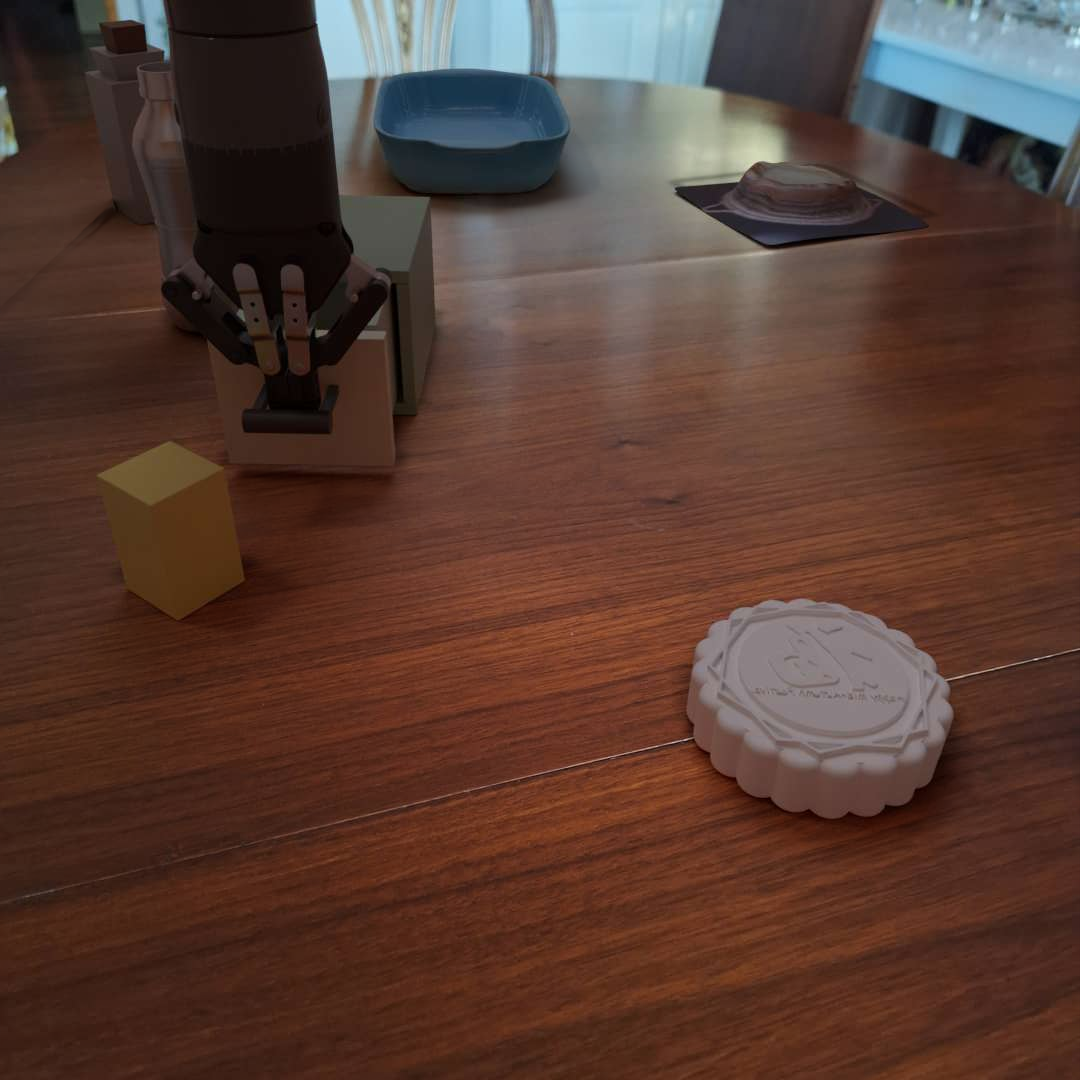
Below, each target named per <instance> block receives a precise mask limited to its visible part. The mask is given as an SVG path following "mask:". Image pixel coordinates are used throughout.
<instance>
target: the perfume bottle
mask: <svg viewBox="0 0 1080 1080" xmlns="http://www.w3.org/2000/svg"><path fill="white" fill-rule="evenodd" d="M98 25H99V29H100V33H101V36H102V39H103V42H104V46H103V45H102V46H101V45H100V46H92V47H88V50H89V51H90V53H91V56H92V57H93V59H94V62H95V64H96V66H97V69H98V70H90V71H85V72H84V74H85V79H86V83H87V87H88V92H89V97H90V101H91V106H92V110H93V111H92V112H93V115H94V120H95V123H96V124H95V125H96V129H97V133H98V138H99V143H100V147H101V152H102V156H103V161H104V165H105V169H106V175H107V179H108V184H109V188H110V191H111V197H112V199H113V200H114V201H113V206H114V209H115V210H117V211H118V212H120V214H122V215H124V216H126V217H127V218H128V219H130V220H132V221H133V222H134V223H136V224H137V225H139V226H145V225H148V224H155V217H154V216H153V213H152V209H151V205H150V201H149V197H148V194H147V191H146V188H145V185H144V183H143V180H142V177H141V174H140V171H139V168H138V165H137V161H136V159H135V156H134V152H133V149H132V138H133V131H134V128H135V125H136V123H137V120H138V118H139V116H140V114H141V112H142V110H143V108H144V106H145V98H144V97H141V96H140V93H139V87H140V85H139V80H138V75H137V67H138V66H140V65H144V64H149V63H157V62H165V50H164V49H162V48H160V47H157V46H154V45H151V44H149V43H147V34H146V33H147V32H146V24H144V23H141V22H138V21H136V20H133V19H124V20H113V21H104V22H98Z"/></svg>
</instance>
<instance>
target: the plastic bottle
mask: <svg viewBox="0 0 1080 1080" xmlns="http://www.w3.org/2000/svg"><path fill="white" fill-rule="evenodd" d="M137 75H138V80H139V85H140V87H139V93H140V96H141V97H144V98H145V106H144V108H143V110H142V112H141V114H140V116H139V118H138V120H137V123H136V125H135V128H134V131H133V138H132V149H133V152H134V156H135V159H136V161H137V165H138V168H139V171H140V174H141V177H142V180H143V183H144V185H145V188H146V191H147V194H148V197H149V201H150V205H151V209H152V213H153V216H154V217H155V222H154V224H155V229H156V233H157V240H158V251H159V258H160V267H161V281H160V282H161V283H160V284H161V286H162V285H163V283H164V282H165V280H166V278H167V277H168V276H169V274H170V273H171V272H172V271H173V270H174V269H175V268H176V267H177V266H179V265H184V264H186V263H187V262H188V261H189V260H190V259H191V258H193V257H194V255H193V243H194V241H195V238H196V235H197V230H198V225H197V220H196V216H195V211H194V205H193V200H192V194H191V188H190V183H189V177H188V171H187V166H186V160H185V155H184V149H183V144H182V138H181V132H180V127H179V125H178V123H177V121H176V117H175V112H174V100H175V98H174V93H173V87H172V80H171V69H170V61H164V62H157V63H149V64H144V65H140V66H138V67H137ZM212 281H213V280H212ZM213 282H214V281H213ZM214 286H215V288H214V292H215V293H216V294H217V295H218V296H219V297H220V298H221V299H222V300H223V301H224V302H225V303H226V304H227V305H228V306H229V307H230V308H231V309H232V310H233V311H234V312H235V313H236V314H237V308H236V305H235V304H234V303H233V302H232V301H231V300H230V299H229V298H228V296H227V295H226V294H225V293H224V292H223V291H222V290H221V289H220V288H219V287H218V286H217V284H216V283H215V282H214ZM161 300H162V303H163V306H164V308H165V311H166V313H167V316H168V318H169V319H170V320H171V321H172V322H173V323H174V324H175V325H176V326H177V327H178V328H179V329H181V330H184V331H187V332H194V333H200V332H199V331H198V330H197V329H196V328H195V327H194V326H193V325H192V324H191V323H190V322H189V321H188V320H187V319H186V318H185V317H184V316H183V315H182V314H181V313H180V312H179V311H178V310H177V309H176V308H175V307H174V306H173V305H172V304H171V303H170V302H169V301H168V300H167V299H165V297H164V296H163V295H162V294H161Z"/></svg>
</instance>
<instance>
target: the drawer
mask: <svg viewBox="0 0 1080 1080" xmlns="http://www.w3.org/2000/svg"><path fill="white" fill-rule="evenodd" d="M347 285H348V282H338V283H337V284H336V286H335V287H334V289H333V290H332V292H331V293H330V295H329V296H328V298H327V300H326V301H325V303H324V304H323V305H322V307H321V308H320V309H319V310H317V321H316V331H317V337H320V336H323V335H326V334H327V332H328V331H329V330H330V328H331V327H332V326H333V324H334V323H335V322H336V320H337V319H338V318H339V316H340V315H341V314H342V312H343V311H344V310H345V308H346V307H347V306H348V304H349V303H350V301H349V300H348V299H347V298H346V295H345V290H346V287H347ZM237 315H238V316H239V317H240V318H241V319H242V320H243V321H244V322H245V323H246V321H245V317H244V313H243V310H241V309H239V311H238V312H237ZM283 325H284V316H283ZM284 329H285V326H284ZM286 339H287V338H286ZM206 341H207V346H208V347H207V348H208V352H209V358H210V363H211V368H212V375H213V380H214V384H215V390H216V396H217V402H218V408H219V412H220V413H219V414H220V419H221V424H222V429H223V435H224V441H225V446H226V451H227V456H228V462H229V464H238V465H239V464H240V465H243V464H245V465H247V464H248V465H291V466H292V465H297V466H298V465H299V466H301V465H302V466H343V467H344V466H345V467H346V466H351V467H352V466H353V467H394V464H395V461H396V445H395V431H394V430H395V429H394V417H393V416H394V415H392V413H393V409H394V405H395V401H396V397H397V393H398V389H399V385H400V381H401V377H402V368H401V353H400V337H399V322H398V306H397V291H396V283H391V287H390V290H389V293H388V297H387V299H386V301H385V302H384V304H383V305H382V306H381V308H380V309H379V310H378V311H377V313H376V314H375V315H374V317H373V318H372V319H371V321H370V322H369V323H368V325H367V326H366V327H365V328H364V330H363V331H362V332H361V334H360V335H359V336H358V338H357V339H356V340H355V342H354V343H353V344H352V346H351V347H350V348H349V349H348V351H347V352H346V353H345V355H344V356H343V357H342V359H341V360H340V361H339V362H338V364H336V365H334V366H328V365H324V366H321V367H319V368H318V376H319V385H320V394H321V405H320V408H319V410H285V409H269V403H268V397H267V391H266V384H265V378H264V374H263V372H262V371H261V370H260V369H259V368H258V367H256V366H254V365H251V364H248V363H244V364H242V365H235V364H233V363H231V362H230V361H229V360H228V359H227V358H226V357H225V356H224V355H223V354H222V353H221V352H220V351H219V350H218V349H216V348H215V347H214V346H213V345H212V344H211V343H210V342H209V341H208V340H207V339H206Z"/></svg>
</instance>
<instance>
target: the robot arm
mask: <svg viewBox="0 0 1080 1080" xmlns="http://www.w3.org/2000/svg"><path fill="white" fill-rule="evenodd" d="M162 3H163V8H164V14H165V20H166V25H167V35H168V44H169V45H168V46H169V62H170V69H171V80H172V87H173V93H174V98H175V100H174V112H175V117H176V121H177V123H178V125H179V127H180V132H181V138H182V144H183V149H184V155H185V160H186V166H187V171H188V177H189V183H190V188H191V194H192V200H193V205H194V211H195V216H196V220H197V225H198V230H197V235H196V238H195V241H194V243H193V255H194V257H193V258H191V259H190V260H189V261H188V262H187V263H186V264H184V265H179V266H177V267H176V268H175V269H174V270H173V271H172V272H171V273H170V274H169V276H168V277H167V278H166V280H165V282H164V283H163V285H162V286H161V287H160V292H161V296H162V295H163V296H164V297H165V299H167V300H168V301H169V302H170V303H171V304H172V305H173V306H174V307H175V308H176V309H177V310H178V311H179V312H180V313H181V314H182V315H183V316H184V317H185V318H186V319H187V320H188V321H189V322H190V323H191V324H192V325H193V326H194V327H195V328H196V329H197V330H198V331H199V332H198V333H200V334H201V335H202V336H203V337H204V338H205V339H206V341H207V340H208V341H209V342H210V343H211V344H212V345H213V346H214V347H215V348H216V349H218V350H219V351H220V352H221V353H222V354H223V355H224V356H225V357H226V358H227V359H228V360H229V361H230V362H231V363H233V364H235V365H242V364H244V363H248V364H251V365H254V366H256V367H258V368H259V369H260V370H261V371H262V372H263V374H264V378H265V384H266V391H267V397H268V403H269V409H285V410H319V408H320V405H321V394H320V385H319V376H318V368H319V367H321V366H324V365H328V366H334V365H336V364H338V362H339V361H340V360H341V359H342V357H343V356H344V355H345V353H346V352H347V351H348V349H349V348H350V347H351V346H352V344H353V343H354V342H355V340H356V339H357V338H358V336H359V335H360V334H361V332H362V331H363V330H364V328H365V327H366V326H367V325H368V323H369V322H370V321H371V319H372V318H373V317H374V315H375V314H376V313H377V311H378V310H379V309H380V308H381V306H382V305H383V304H384V302H385V301H386V299H387V297H388V293H389V290H390V287H391V283H392V280H393V278H392V274H391V272H390V271H389V270H388V269H386V268H382V267H380V268H376V269H373V268H372V267H371V266H369V265H368V264H367V263H365V262H364V261H362V260H361V259H360V258H358V257H357V256H356V255H354V254H353V253H354V246H353V242H352V240H351V238H350V236H349V235H348V233H347V232H346V230H345V228H344V226H343V223H342V219H341V210H340V200H339V195H340V191H339V182H338V181H339V179H338V170H337V169H338V168H337V160H336V148H335V147H336V146H335V138H334V127H333V118H332V117H333V115H332V107H331V105H332V104H331V97H330V96H331V95H330V84H329V77H328V70H327V65H326V60H325V55H324V52H323V47H322V42H321V38H320V32H319V24H318V16H317V14H318V13H317V5H316V0H162ZM343 274H345V276H346V277H347V280H348V285H347V287H346V290H345V295H346V298H347V299H348V300H349V301H350V303H349V304H348V306H347V307H346V308H345V310H344V311H343V312H342V314H341V315H340V316H339V318H338V319H337V320H336V322H335V323H334V324H333V326H332V327H331V328H330V330H329V331H328V332H327V334H326V335H323V336H320V337H317V331H316V321H317V310H319V309H320V308H321V307H322V305H323V304H324V303H325V301H326V300H327V298H328V296H329V295H330V293H331V292H332V290H333V289H334V287H335V286H336V284H337V283H338V281H339V280H340V278H341V277H342V275H343ZM212 280H213V281H214V282H215V283H216V284H217V286H218V287H219V288H220V289H221V290H222V291H223V292H224V293H225V294H226V295H227V296H228V298H229V299H230V300H231V301H232V302H233V303H234V304H235V305H236V306H237V307H238V308H240V309H241V310H243V313H244V317H245V321H246V323H245V322H244V321H243V320H242V319H241V318H240V317H239V316H238V315H237V314H236V313H235V312H234V311H233V310H232V309H231V308H230V307H229V306H228V305H227V304H226V303H225V302H224V301H223V300H222V299H221V298H220V297H219V296H218V295H217V294H216V293H215V292H214V288H215V286H214V282H213V281H212ZM283 316H284V325H283ZM284 326H285V329H284ZM286 338H287V339H286Z"/></svg>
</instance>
